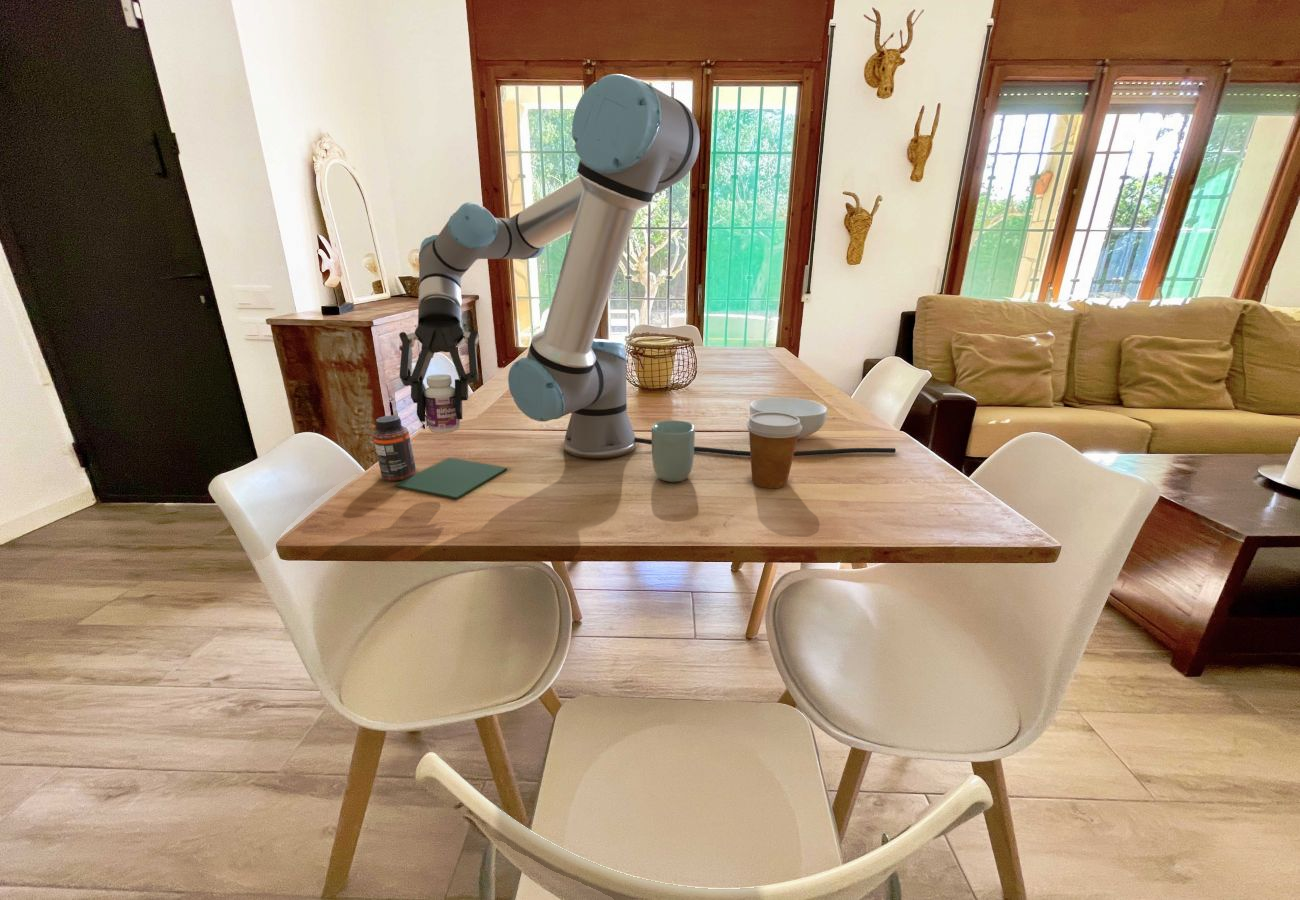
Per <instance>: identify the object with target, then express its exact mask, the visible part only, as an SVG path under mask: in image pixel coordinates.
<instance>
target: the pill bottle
mask: <svg viewBox="0 0 1300 900" xmlns="http://www.w3.org/2000/svg"><path fill="white" fill-rule="evenodd" d="M452 383H453V381H452V376H451V375H450V374H443V373H442V374H441V373H439V374H431V375H428V376H426V385H427V386H428V387H427V388H425V389H426V390H425V392H424V397H425V414H426V420H427V426H428V430H429V432H432V433H434V434H448V433H453V432H456V431H458V430H459V429H460V428H461V419H458V418H457V416H456V413H455V386H452Z"/></svg>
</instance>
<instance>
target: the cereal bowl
mask: <svg viewBox="0 0 1300 900" xmlns="http://www.w3.org/2000/svg"><path fill="white" fill-rule="evenodd" d="M759 412H781V413H787V414H791V415H794V416H796V417H798V418H799V419H800V424H801V426H802V430H801V431H800V433H799V435H798V439H797V440H800V439H803V438H804V437H807V436H810V435H812V434H814V433H817V432H818V431H819V430H821V428H822V427H823V426H824V424H825V422H826V420H827V416H828V415H827V414H828V408H827V406H826V405H824V404H822V403H820V402H818V401H814V400H810V399H805V398H800V397H788V396H787V397H786V396H773V397H763V398H759V399H755V400H753V401H752V402H750V404H749V417H750V416H751V415H752V414H755V413H759Z"/></svg>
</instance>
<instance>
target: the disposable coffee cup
mask: <svg viewBox="0 0 1300 900" xmlns="http://www.w3.org/2000/svg"><path fill="white" fill-rule="evenodd" d="M746 427H747V430H748V435H749V451H750V455H751V456H750V470H751V481H752V483H753V484H754V485H756V486H758V487H762V488H766V489H779V488H783V487H785V486H787V484H788V480H789V477H790V473H791V468H792V464H793V459H794V457H795V456H794V452H795V451H796V447H797V443H798V440H799V439H798V435H799V433H800V431H801V430H802V426H801V424H800V419H799V418H798V417H796V416H794V415H791V414H787V413H781V412H759V413H755V414H752V415H751V416H750V415H749V420H748V421H747V422H746Z"/></svg>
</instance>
